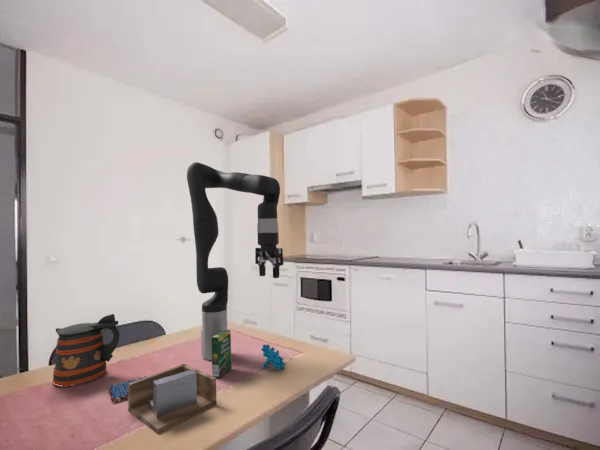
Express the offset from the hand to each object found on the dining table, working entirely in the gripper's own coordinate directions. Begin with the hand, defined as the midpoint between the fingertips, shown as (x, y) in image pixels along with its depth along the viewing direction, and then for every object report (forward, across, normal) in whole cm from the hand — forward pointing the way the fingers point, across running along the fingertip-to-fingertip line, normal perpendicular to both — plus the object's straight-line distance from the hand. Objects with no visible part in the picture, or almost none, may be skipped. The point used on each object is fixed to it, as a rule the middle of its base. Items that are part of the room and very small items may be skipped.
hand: (269, 277), depth 114 cm
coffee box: (+30, -4, -17) cm, 35 cm away
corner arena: (+30, +6, -36) cm, 48 cm away
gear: (+30, +4, -2) cm, 31 cm away
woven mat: (+31, -12, -43) cm, 54 cm away
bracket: (+29, +7, -37) cm, 47 cm away
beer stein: (+30, -34, -51) cm, 68 cm away
